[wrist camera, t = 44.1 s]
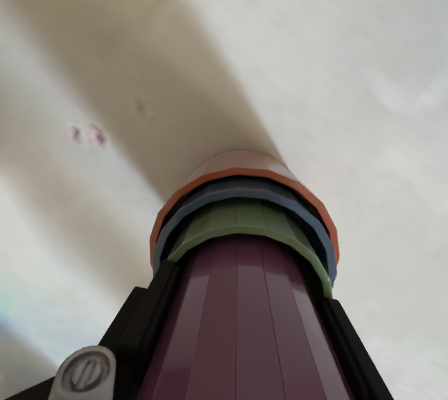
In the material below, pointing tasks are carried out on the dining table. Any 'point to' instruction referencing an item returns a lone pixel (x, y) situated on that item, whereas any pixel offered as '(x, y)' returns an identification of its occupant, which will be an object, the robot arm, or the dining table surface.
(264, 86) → the dining table surface
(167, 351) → the plum cup
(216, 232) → the sage cup
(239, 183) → the stack
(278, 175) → the stack bottom
